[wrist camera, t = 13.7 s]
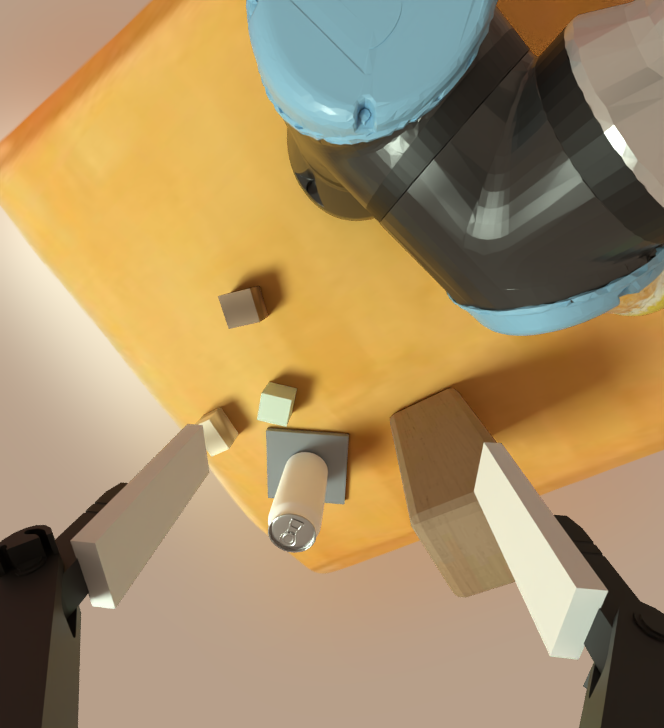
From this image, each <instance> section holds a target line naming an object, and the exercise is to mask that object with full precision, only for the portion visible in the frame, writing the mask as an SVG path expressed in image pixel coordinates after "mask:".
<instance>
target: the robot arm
mask: <svg viewBox="0 0 664 728" xmlns="http://www.w3.org/2000/svg"><path fill="white" fill-rule="evenodd" d="M497 1H498V0H246V9H247V19H248V30H249V35H250V41H251V45H252V49H253V52H254V56H255V58H256V62H257V65H258V70H259V73H260V75H261V79H262V83H263V86H264V87H265V89H266V94H267V96H268V98H269V100H270V101H271V102H272V103H273V104H274V107H275V110H276V111H277V112H278V113H279V115H280V116H281V117H282V118H283V120H284V121H285V123H286V125H287V146H288V154H289V159H290V163H291V166H292V169H293V172H294V175H295V177H296V179H297V181H298V183H299V185H300V186H301V188H302V189H303V191H304V192H305V193H306V195H307V196H308V197H309V198H310V200H311V201H312V202H313V203H314V204H315V205H317V206H318V207H319V208H320V209H322V210H323V211H325V212H326V213H328V214H330V215H332V216H334V217H337V218H340V219H344V220H351V221H362V220H369V219H373V218H376V219H377V220H378V221H379V223H380V225H381V226H382V227H383V228H384V229H385V230H386V231H387V232H388V233H389V234H390V235H391V236H392V237H393V238H394V239H395V240H396V241H397V242H398V243H399V244H400V245H401V246H402V247H403V248H404V249H405V250H406V251H407V252H408V253H409V254H410V255H411V256H412V257H413V258H414V259H415V260H416V261H417V262H418V263H419V264H420V265H421V266H422V267H423V268H424V269H425V270H426V271H427V272H428V273H429V274H430V275H431V276H432V277H433V278H434V279H435V280H436V281H437V282H438V283H439V284H440V285H441V286H442V287H443V288H444V289H445V290H446V292H447V295H448V296H449V298H450V299H451V300H452V302H453V303H455V304H456V305H458V306H459V307H460V308H462V309H464V310H466V311H468V312H469V313H470V314H471V315H472V316H473V317H474V318H475V319H476V320H477V321H478V322H480V323H481V324H482V325H483V326H485V327H487V328H488V329H490V330H492V331H495V332H498V333H501V334H506V335H516V336H526V335H537V334H543V333H549V332H553V331H558V330H562V329H565V328H569V327H572V326H575V325H578V324H580V323H583V322H586V321H588V320H590V319H593V318H595V317H597V316H599V315H602V314H604V313H606V312H608V311H609V310H611V309H613V308H615V307H617V306H618V305H619V304H620V298H619V297H622V296H624V295H627V294H634V293H639V292H640V291H641V290H643V289H644V288H645V287H647V286H648V285H649V284H650V283H651V282H653V281H654V280H655V279H656V278H657V277H658V276H659V275H660V274H661V273H662V272H663V270H664V0H634V1H633V2H630V3H626V4H622V5H618V6H614V7H609V8H605V9H601V10H597V11H593V12H588V13H584V14H580V15H578V16H576V17H575V18H574V19H573V20H572V21H571V22H570V23H569V24H567V26H566V27H565V28H564V30H563V31H562V32H561V33H560V34H559V35H558V36H557V37H556V39H555V40H554V41H553V42H552V43H551V44H550V45H549V46H548V47H547V49H546V50H545V51H544V52H543V53H542V54H541V55H540V56H539V57H537V56H535V55H534V54H533V53H532V52H531V50H530V48H528V46H527V45H526V44H525V43H524V41H523V40H522V39H521V37H520V36H519V35H518V34H517V32H516V31H515V30H514V28H513V27H512V26H511V25H510V23H509V22H508V21H507V19H506V18H505V17H504V15H503V14H502V13H501V11H500V10H499V9H498V8H497V6H496V4H497ZM529 50H530V51H529ZM528 51H529V52H528ZM208 473H209V467H208V460H207V452H206V445H205V438H204V430H203V425H194V424H187V425H186V426H185V427H184V428H183V429H182V430H181V431H180V432H179V433H178V434H177V435H176V436H175V437H174V438H173V439H172V440H171V441H170V442H169V443H168V444H167V445H166V446H165V447H164V448H163V449H162V450H161V451H160V452H159V453H158V454H157V455H156V456H155V457H154V458H153V459H152V460H151V461H150V462H149V463H148V464H147V465H146V466H145V467H144V468H143V469H142V470H141V471H140V472H139V473H138V474H137V475H136V476H135V477H134V478H133V479H132V480H131V481H130V482H129V483H120V484H118V485H116V486H115V487H113V488H111V489H110V490H108V491H106V493H104V494H103V495H102V496H101V497H100V498H99V499H98V500H97V501H96V502H95V504H93V505H92V506H90V507H89V508H88V509H87V510H86V513H83V514H82V515H81V516H80V517H79V518H78V519H77V520H76V521H75V522H73V523H72V524H71V525H70V526H69V527H68V528H67V529H66V530H65V531H64V532H63V533H62V534H61V535H60V536H59V537H58V538H57V539H56V540H55V538H54V536H53V533H52V530H51V528H50V527H48V526H46V525H36V526H32V527H28V528H25V529H23V530H20V531H18V532H16V533H13V534H12V535H10V536H9V537H7V538H5V539H4V540H2V541H1V542H0V728H78V701H79V666H80V629H81V611H80V608H79V604H80V603H81V602H82V600H83V599H84V598H85V597H86V595H87V594H89V597H90V600H91V602H92V605H93V606H96V607H104V608H114V609H115V608H116V607H117V605H118V604H119V602H120V601H121V600H122V598H123V597H124V595H125V594H126V592H127V591H128V590H129V588H130V586H131V585H132V584H133V582H134V581H135V579H136V578H137V576H138V575H139V574H140V572H141V571H142V569H143V568H144V566H145V565H146V564H147V562H148V560H149V559H150V558H151V556H152V555H153V553H154V552H155V550H156V549H157V547H158V546H159V545H160V543H161V542H162V540H163V539H164V537H165V536H166V534H167V533H168V532H169V530H170V529H171V527H172V526H173V524H174V523H175V521H176V520H177V519H178V517H179V516H180V514H181V513H182V511H183V510H184V508H185V507H186V505H187V504H188V502H189V501H190V500H191V498H192V497H193V495H194V494H195V492H196V491H197V489H198V488H199V487H200V485H201V484H202V482H203V481H204V479H205V478H206V476H207V475H208ZM474 493H475V495H476V497H477V500H478V502H479V504H480V506H481V508H482V510H483V512H484V515H485V517H486V519H487V521H488V523H489V525H490V528H491V530H492V532H493V534H494V536H495V538H496V541H497V543H498V545H499V547H500V549H501V551H502V553H503V556H504V558H505V560H506V562H507V564H508V566H509V569H510V571H511V573H512V575H513V577H514V579H515V582H516V584H517V586H518V588H519V590H520V592H521V594H522V597H523V599H524V601H525V603H526V605H527V607H528V610H529V612H530V614H531V616H532V618H533V620H534V623H535V625H536V627H537V629H538V631H539V633H540V635H541V637H542V640H543V642H544V644H545V646H546V648H547V650H548V653H549V655H550V656H551V657H561V658H570V659H579V657H580V655H581V653H582V650H583V648H584V646H585V647H586V649H587V650H588V652H589V654H590V656H591V657H592V659H593V661H594V664H593V666H592V668H591V670H590V672H589V674H588V677H587V679H586V681H585V683H584V685H583V686H584V687H585V688H586V689H587V691H586V696H585V701H584V706H583V711H582V716H581V721H580V727H579V728H664V614H663V613H661V612H660V611H658V610H657V609H656V608H653V607H651V606H649V605H647V604H645V603H642V602H640V600H639V599H638V598H637V597H636V596H635V594H634V593H633V592H632V590H631V589H630V588H629V587H628V585H627V584H626V583H625V582H624V580H623V579H622V578H621V576H619V574H618V573H617V571H616V570H615V569H614V568H613V567H612V565H611V564H610V563H609V561H608V560H607V559H606V558H605V557H604V556H603V555H602V553H601V551H600V550H599V549H598V547H597V546H596V545H594V544H593V541H592V540H591V539H590V537H589V536H588V535H587V534H586V532H585V531H584V530H583V529H582V528H581V527H580V526H579V525H577V524H576V523H575V522H574V521H573V520H571V519H570V518H569V517H567V516H560V515H553V514H552V512H551V511H550V510H549V508H548V507H547V506H546V504H545V503H544V501H543V500H542V499H541V497H540V496H539V494H538V493H537V492H536V490H535V489H534V487H533V486H532V485H531V483H530V482H529V481H528V479H527V478H526V476H525V475H524V474H523V472H522V471H521V469H520V468H519V467H518V465H517V464H516V463H515V461H514V460H513V458H512V457H511V456H510V454H509V453H508V452H507V450H506V449H505V447H504V446H503V445H502V443H491V442H484V444H483V449H482V454H481V458H480V463H479V468H478V473H477V478H476V483H475V488H474Z"/></svg>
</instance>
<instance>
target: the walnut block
mask: <svg viewBox="0 0 664 728" xmlns="http://www.w3.org/2000/svg"><path fill="white" fill-rule="evenodd" d="M218 298H219V301H220V304H221V307H222V310H223V313H224V316H225V319H226V322H227V325H228V328H229V329H230V328H235V327H239V326H244V325H248V324H253V323H257V322H260V321H262V320H263V319H265V318H266V317H268V313H267V310H266V307H265V303H264V300H263V296H262V293H261V289H260V286H256V287H252V288H248V289H244V290H240V291H236V292H232V293H228V294H224V295H221V296H218Z"/></svg>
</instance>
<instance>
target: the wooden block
mask: <svg viewBox="0 0 664 728" xmlns="http://www.w3.org/2000/svg"><path fill="white" fill-rule="evenodd" d="M390 425H391V430H392V434H393V439H394V444H395V449H396V454H397V459H398V464H399V468H400V473H401V478H402V483H403V488H404V493H405V498H406V502H407V507H408V512H409V517H410V522H411V526H412V528H413V530H414V531H415V533H416V534H417V536H418V538H419V539H420V541H421V542H422V544H423V546H424V547H425V549H426V550H427V552H428V554H429V555H430V557H431V558H432V560H433V562H434V563H435V564H436V566H437V568H438V570H439V571H440V573H441V574H442V576H443V578H444V579H445V581H446V582H447V584H448V586H449V587H450V589H451V590H452V591H453V593H454V594H455V595H457V596H458V597H468V596H472V595H475V594H478V593H481V592H484V591H488V590H490V589H494V588H497V587H500V586H503V585H507V584H509V583H513V582H515V579H514V577H513V575H512V573H511V571H510V569H509V566H508V564H507V562H506V560H505V558H504V556H503V553H502V551H501V549H500V547H499V545H498V543H497V541H496V538H495V536H494V534H493V532H492V530H491V528H490V525H489V523H488V521H487V519H486V517H485V515H484V512H483V510H482V508H481V506H480V504H479V502H478V500H477V497H476V495H475V493H474V488H475V483H476V478H477V473H478V468H479V463H480V458H481V454H482V449H483V444H484V442H491V443H497V442H496V441H495V440H494V438H493V437H492V436H491V434H490V433H489V432H488V430H487V429H486V428H485V427H484V425H483V424H482V423H481V421H480V420H479V419H478V417H477V416H476V415H475V413H474V412H473V411H472V409H471V408H470V407H469V405H468V404H467V403H466V401H465V400H464V399H463V398H462V396H461V395H460V394H459V392H458V391H456V390H455V389H454V388H450V389H446V390H444V391H442V392H440V393H438V394H436V395H433V396H431V397H429V398H427V399H425V400H423V401H421V402H419V403H416V404H414V405H412V406H410V407H408V408H406V409H404V410H401V411H399V412H397V413H395V414H393V415H392V416H391V417H390Z"/></svg>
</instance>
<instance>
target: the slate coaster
mask: <svg viewBox="0 0 664 728" xmlns="http://www.w3.org/2000/svg"><path fill="white" fill-rule="evenodd" d="M266 439H267V475H268V498H275V495H276V492H277V489H278V486H279V483H280V480H281V477H282V474H283V471H284V468H285V465H286V463H287V461H288V459H289V458H290V457H291V456H293V455H295V454H297V453H300V452H310V453H313V454H316V455H318V456H319V457H321V458H322V459H323V460H324V462H325V463H326V465H327V468H328V476H327V485H326V493H325V501H324V503H334V504H344V501H345V486H346V471H347V456H348V440H349V434H344V433H331V432H317V431H303V430H290V429H276V428H267V430H266Z"/></svg>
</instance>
